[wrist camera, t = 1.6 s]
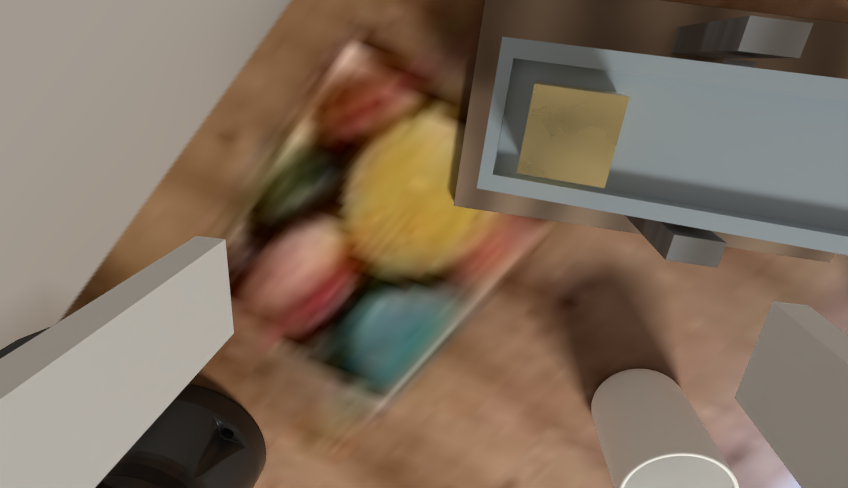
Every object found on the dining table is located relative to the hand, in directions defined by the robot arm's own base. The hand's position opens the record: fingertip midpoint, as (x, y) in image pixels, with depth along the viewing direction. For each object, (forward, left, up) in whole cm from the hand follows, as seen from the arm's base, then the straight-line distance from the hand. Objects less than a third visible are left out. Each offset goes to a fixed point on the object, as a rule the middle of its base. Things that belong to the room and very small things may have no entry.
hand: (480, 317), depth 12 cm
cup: (+19, -23, -27) cm, 41 cm away
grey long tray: (+14, +3, -23) cm, 27 cm away
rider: (+5, +3, -19) cm, 20 cm away
